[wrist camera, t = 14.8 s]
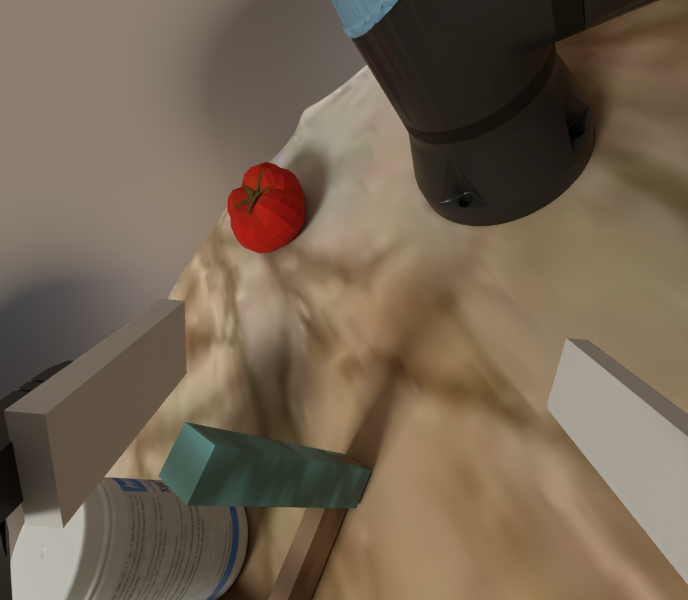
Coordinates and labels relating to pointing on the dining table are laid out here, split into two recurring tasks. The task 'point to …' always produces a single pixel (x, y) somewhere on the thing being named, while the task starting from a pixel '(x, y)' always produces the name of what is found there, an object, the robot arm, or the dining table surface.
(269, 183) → the tomato
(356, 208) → the dining table surface
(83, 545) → the supplement tub
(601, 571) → the dining table surface
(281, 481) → the wooden frame
